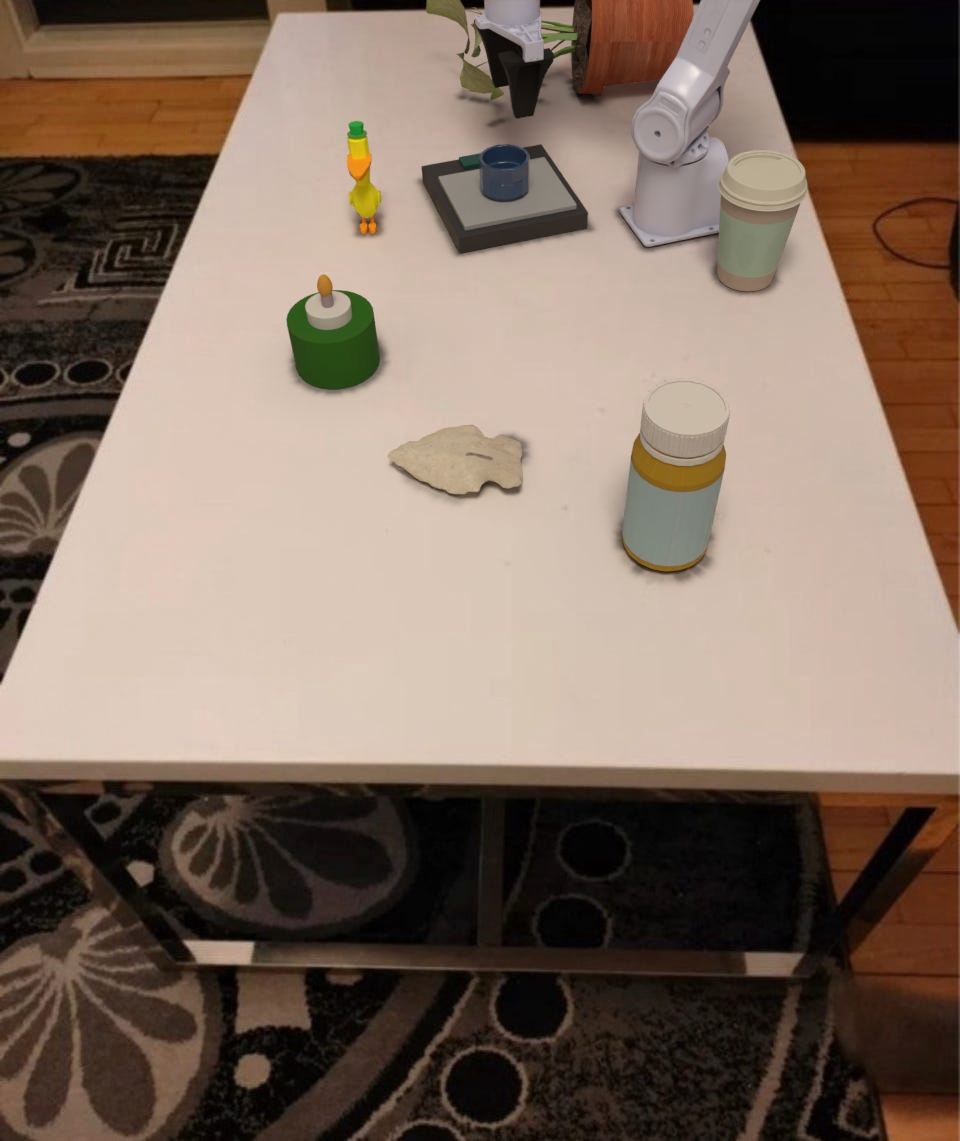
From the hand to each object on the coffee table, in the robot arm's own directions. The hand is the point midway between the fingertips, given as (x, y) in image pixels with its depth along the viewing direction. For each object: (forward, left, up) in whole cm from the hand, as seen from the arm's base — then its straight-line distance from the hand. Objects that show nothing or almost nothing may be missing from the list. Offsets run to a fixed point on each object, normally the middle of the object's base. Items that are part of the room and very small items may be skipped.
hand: (513, 100), depth 114 cm
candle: (+27, +27, -10) cm, 39 cm away
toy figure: (+19, +5, -10) cm, 22 cm away
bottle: (+6, +59, -10) cm, 60 cm away
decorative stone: (+20, +45, -10) cm, 50 cm away
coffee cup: (-17, +27, -10) cm, 33 cm away
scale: (+3, +5, -9) cm, 11 cm away
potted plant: (-11, -19, -10) cm, 24 cm away
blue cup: (+3, +7, -7) cm, 10 cm away
